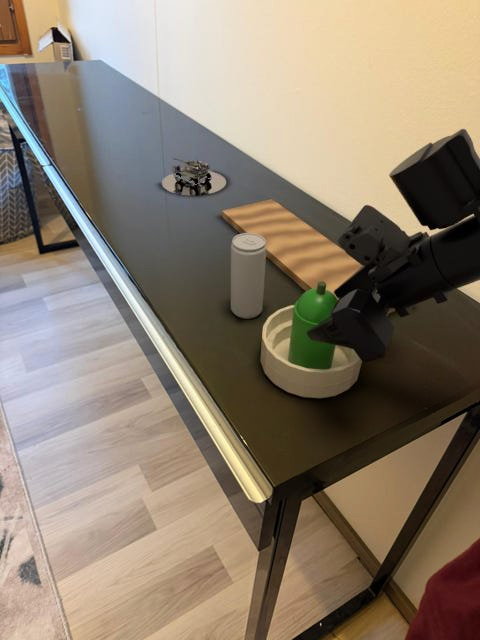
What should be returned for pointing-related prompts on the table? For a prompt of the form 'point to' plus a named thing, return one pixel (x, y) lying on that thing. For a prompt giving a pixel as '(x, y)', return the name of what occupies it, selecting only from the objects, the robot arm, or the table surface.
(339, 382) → the bowl
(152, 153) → the table surface
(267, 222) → the cutting board
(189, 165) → the grey wheeled model
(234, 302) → the beverage can
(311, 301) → the green spray can
